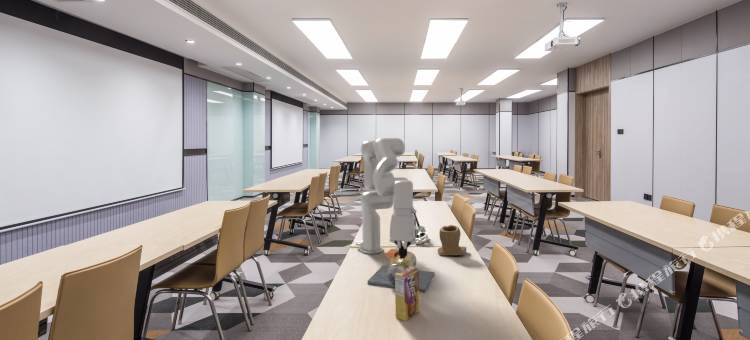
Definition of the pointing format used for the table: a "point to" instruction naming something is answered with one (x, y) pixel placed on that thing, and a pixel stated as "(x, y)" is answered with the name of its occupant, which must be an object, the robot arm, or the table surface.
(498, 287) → the table surface
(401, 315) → the candy box
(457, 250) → the stone cup
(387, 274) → the valve body
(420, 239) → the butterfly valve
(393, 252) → the valve lever
